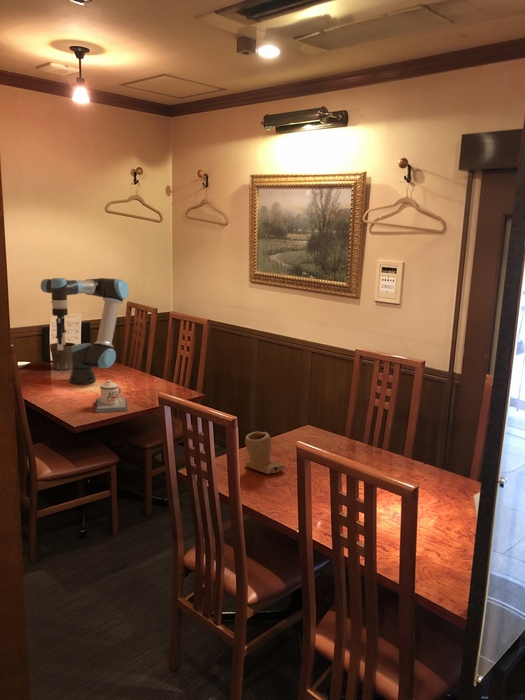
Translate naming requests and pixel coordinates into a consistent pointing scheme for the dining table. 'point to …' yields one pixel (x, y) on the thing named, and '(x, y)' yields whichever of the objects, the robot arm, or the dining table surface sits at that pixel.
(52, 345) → the plant pot
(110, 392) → the teacup with lid
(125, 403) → the press bed
